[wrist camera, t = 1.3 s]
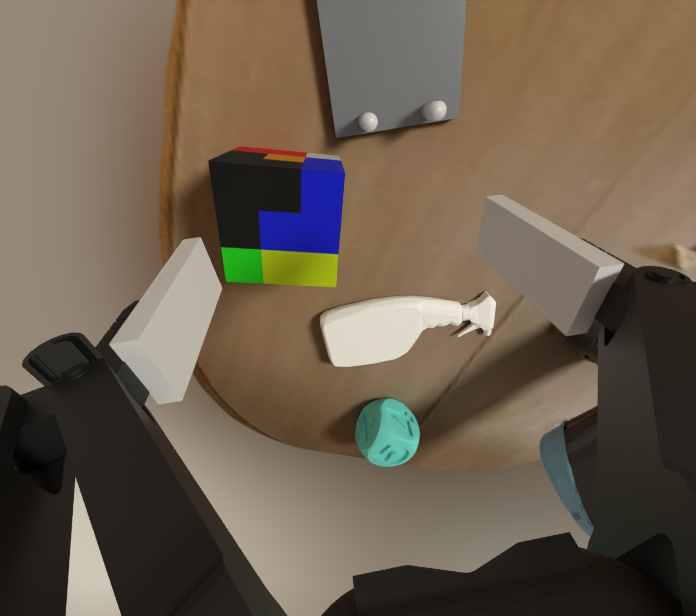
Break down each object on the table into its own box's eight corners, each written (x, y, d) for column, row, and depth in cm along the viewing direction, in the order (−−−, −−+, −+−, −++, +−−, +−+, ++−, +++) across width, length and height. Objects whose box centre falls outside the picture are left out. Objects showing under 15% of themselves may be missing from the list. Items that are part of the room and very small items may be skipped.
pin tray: (454, 117, 30) (472, 118, 26) (335, 137, 30) (337, 140, 27) (468, -152, 21) (497, -204, 17) (299, -120, 21) (294, -164, 18)
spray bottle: (317, 304, 42) (493, 272, 41) (331, 361, 48) (485, 334, 47) (316, 317, 39) (504, 283, 39) (332, 375, 45) (494, 346, 45)
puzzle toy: (339, 155, 31) (344, 172, 23) (333, 246, 37) (335, 287, 28) (240, 146, 30) (208, 160, 22) (248, 241, 36) (226, 281, 27)
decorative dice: (377, 392, 52) (385, 433, 45) (413, 405, 54) (425, 447, 48) (352, 418, 55) (356, 460, 49) (387, 430, 58) (396, 471, 51)
